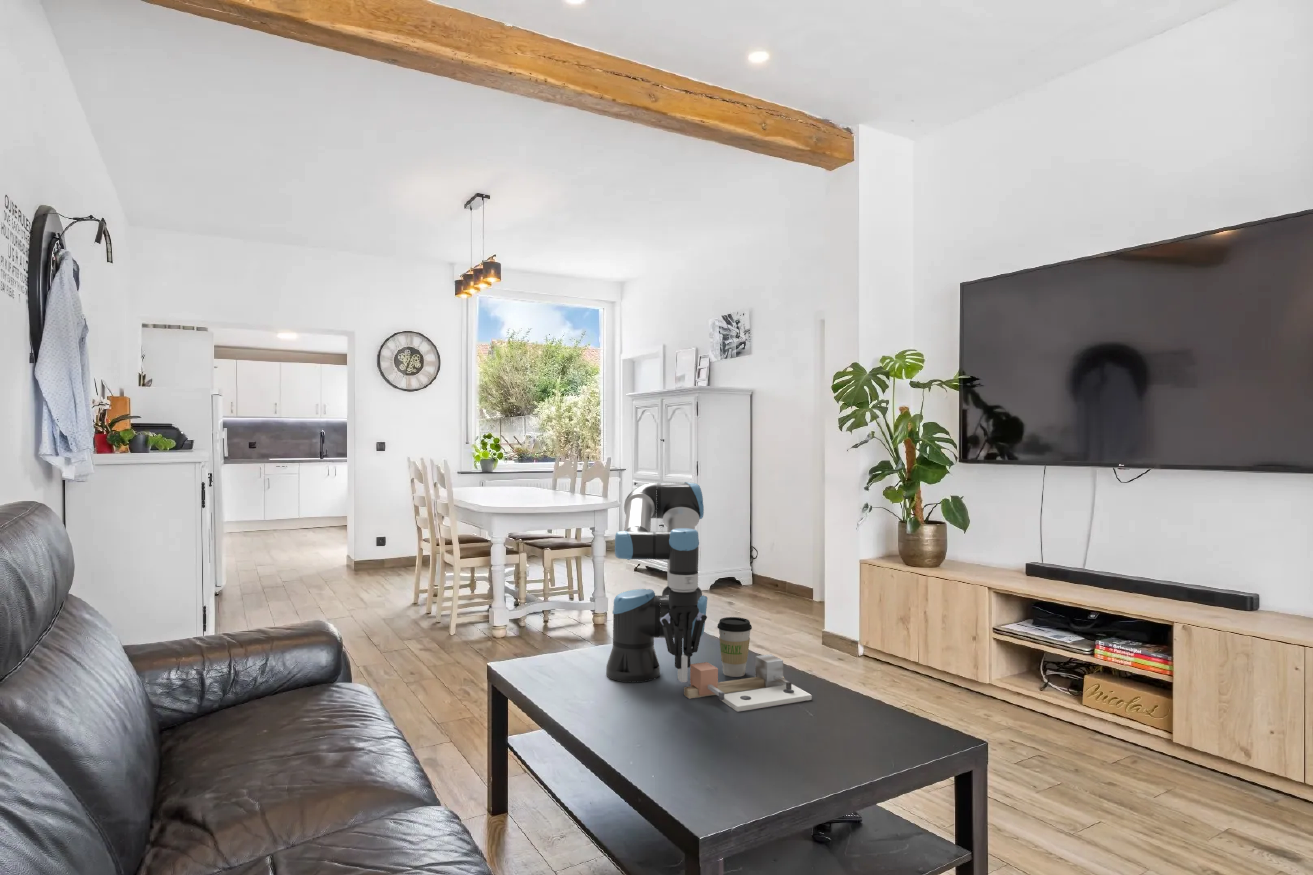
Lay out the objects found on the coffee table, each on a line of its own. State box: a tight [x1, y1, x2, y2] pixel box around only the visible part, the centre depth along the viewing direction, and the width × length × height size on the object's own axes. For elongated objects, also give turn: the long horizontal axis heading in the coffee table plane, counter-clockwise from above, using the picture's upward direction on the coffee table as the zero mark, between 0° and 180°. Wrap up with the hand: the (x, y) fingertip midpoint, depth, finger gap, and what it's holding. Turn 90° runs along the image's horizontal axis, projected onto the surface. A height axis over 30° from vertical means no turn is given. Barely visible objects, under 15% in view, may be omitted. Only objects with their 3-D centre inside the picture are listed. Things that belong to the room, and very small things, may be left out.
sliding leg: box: [689, 661, 725, 701], centre depth 192 cm, size 13×5×6 cm, turn 24°
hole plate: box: [720, 684, 813, 712], centre depth 192 cm, size 9×22×1 cm, turn 114°
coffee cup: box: [716, 616, 753, 678], centre depth 213 cm, size 10×10×15 cm
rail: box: [683, 653, 792, 700], centre depth 196 cm, size 13×29×7 cm, turn 114°
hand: (682, 680), depth 193 cm, fingers closed
